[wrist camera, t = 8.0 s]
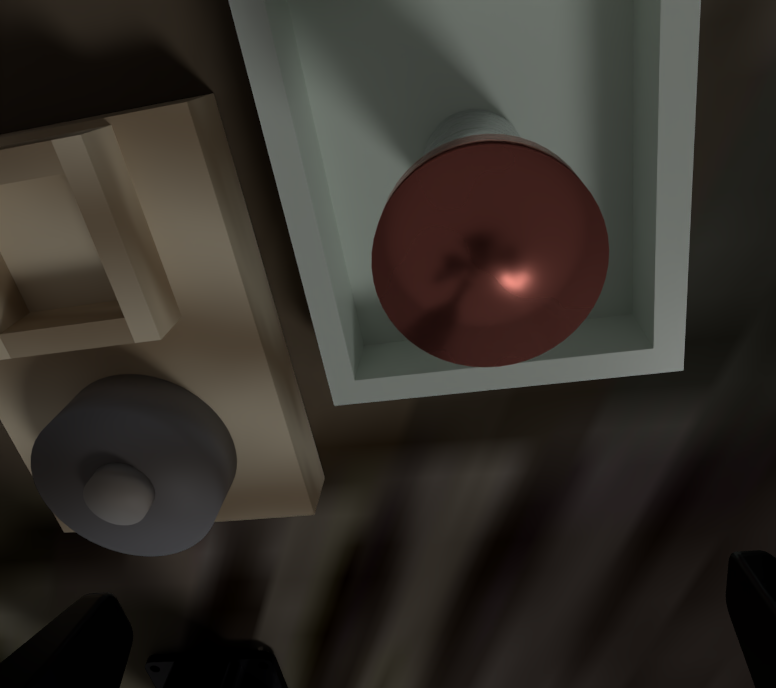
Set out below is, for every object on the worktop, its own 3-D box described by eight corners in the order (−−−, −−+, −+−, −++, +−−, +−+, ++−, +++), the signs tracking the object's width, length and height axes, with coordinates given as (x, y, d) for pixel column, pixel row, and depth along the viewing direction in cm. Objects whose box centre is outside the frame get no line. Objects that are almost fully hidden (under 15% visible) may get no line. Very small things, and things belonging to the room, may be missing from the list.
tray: (653, 325, 19) (683, 370, 17) (348, 360, 21) (334, 405, 19) (663, -142, 14) (708, -175, 12) (250, -46, 16) (213, -58, 13)
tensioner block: (324, 477, 24) (298, 573, 20) (91, 496, 25) (22, 588, 21) (213, 93, 17) (141, 116, 13) (-89, 151, 19) (-235, 188, 15)
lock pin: (547, 218, 17) (611, 354, 10) (416, 237, 18) (392, 377, 11) (538, 76, 16) (607, 124, 9) (393, 102, 16) (350, 167, 9)
